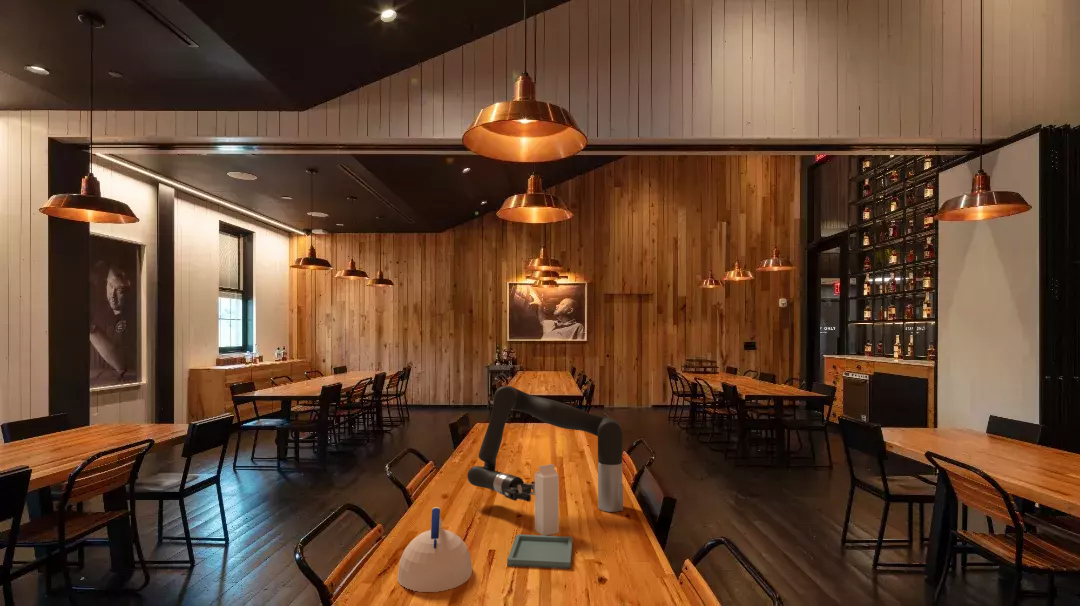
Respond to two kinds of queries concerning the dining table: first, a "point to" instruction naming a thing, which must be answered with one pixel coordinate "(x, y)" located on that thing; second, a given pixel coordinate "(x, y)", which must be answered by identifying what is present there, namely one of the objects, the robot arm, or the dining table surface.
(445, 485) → the dining table surface
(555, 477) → the milk
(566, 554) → the tray
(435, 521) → the dome with blue handle
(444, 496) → the dining table surface
